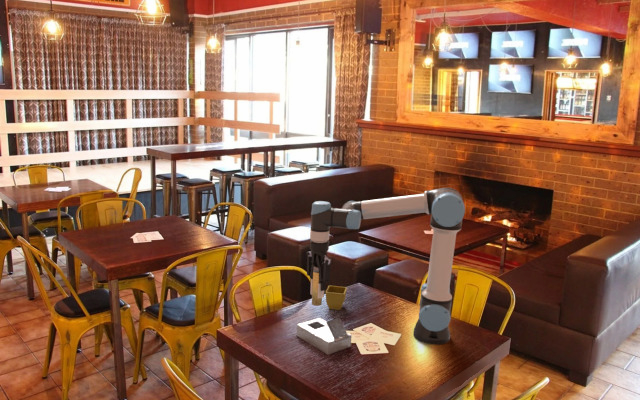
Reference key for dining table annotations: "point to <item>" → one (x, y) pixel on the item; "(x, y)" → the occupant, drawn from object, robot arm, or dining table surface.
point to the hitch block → (321, 336)
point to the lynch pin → (316, 287)
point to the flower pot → (335, 297)
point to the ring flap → (337, 330)
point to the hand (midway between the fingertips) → (317, 295)
